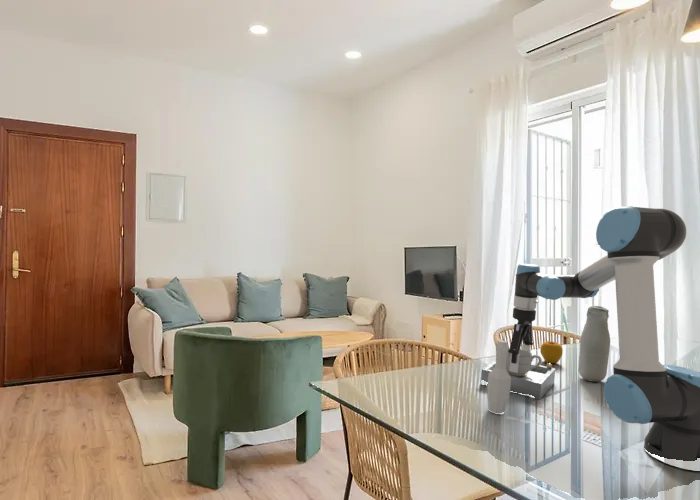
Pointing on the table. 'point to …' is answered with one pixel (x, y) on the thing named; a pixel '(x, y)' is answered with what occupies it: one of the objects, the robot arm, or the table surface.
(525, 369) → the teacup
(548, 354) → the apple
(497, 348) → the low poly bottle
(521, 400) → the table surface
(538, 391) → the grey serving tray
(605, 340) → the grey bottle
